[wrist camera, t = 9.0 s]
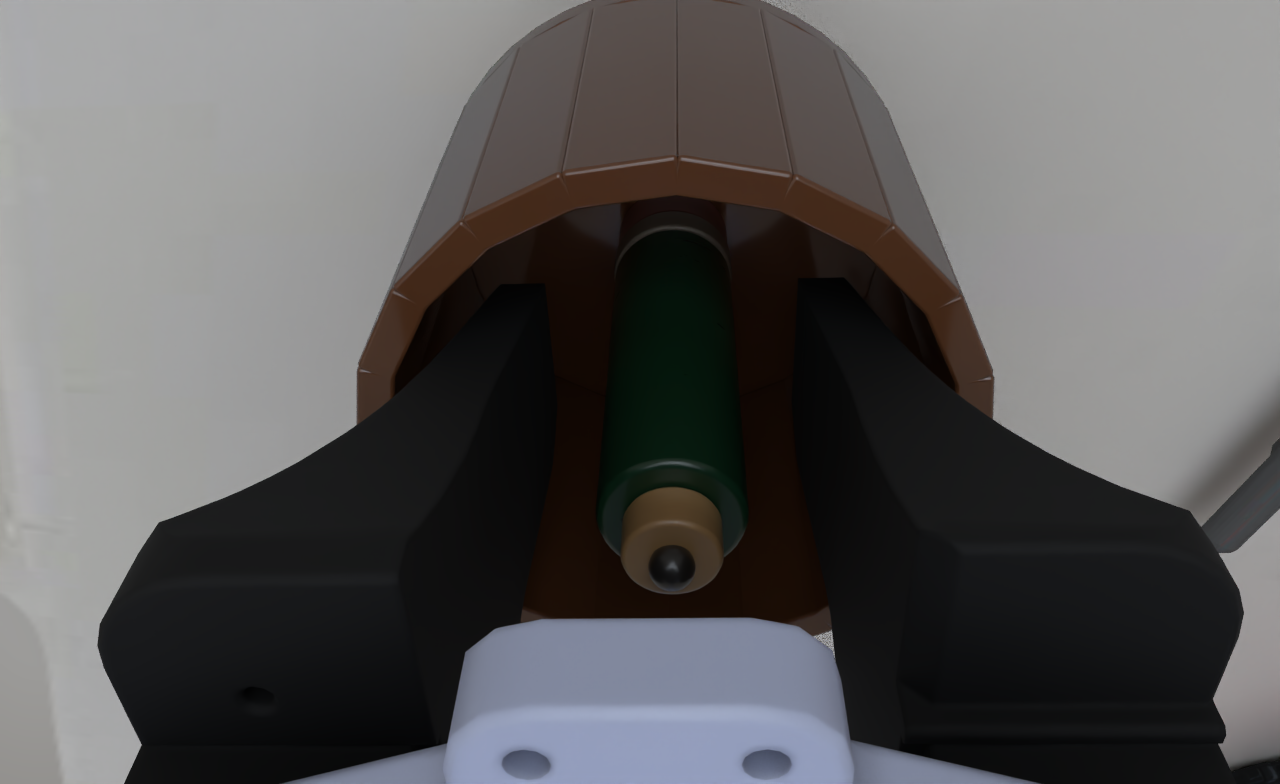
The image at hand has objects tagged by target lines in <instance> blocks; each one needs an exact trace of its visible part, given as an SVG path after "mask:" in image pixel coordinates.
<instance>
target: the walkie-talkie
mask: <svg viewBox="0 0 1280 784" xmlns="http://www.w3.org/2000/svg"><path fill="white" fill-rule="evenodd" d="M1278 509H1280V438H1279V439H1278V440H1277V441H1276V442H1275V443H1274V444H1273V446H1272V450H1271V455H1270V457H1269V458H1268V459H1267V460H1266V461H1265V462H1264V463H1263V464H1262V465H1261V466H1260V467H1259V468H1258V469H1257V470H1256V471H1255V472H1254V473H1253V474H1252V475H1251V476H1250V477H1249V478H1248V479H1247V480H1246V481H1245V482H1244V483H1243V484H1242V485H1241V487H1240V488H1239V489H1238V490H1237V491H1236V492H1235V493H1234V494H1233V495H1232V496H1231V497H1230V498H1229V499H1228V500H1227V501H1226V502H1225V503H1224V504H1223V505H1222V506H1221V507H1220V508H1219V509H1218V510H1217V511H1216V512H1215V513H1214V514H1213V515H1212V516H1211V517H1210V519H1209V520H1208V521H1207V522H1206V523H1205V524H1204V525H1203V526H1202V527H1201V528H1202V529H1203V531H1204V532H1205V534H1206V535H1207V536H1208V538H1209V539H1210V541H1211V542H1212V544H1213V545H1214V547H1215V549H1216V550H1217V552H1218V553H1231V552H1233V551H1236V550H1237V549H1239V548H1240V547H1241V546H1242V545H1243V544H1244V543H1245V542H1246V541H1247V540H1248V539H1249V538H1250V537H1251V536H1252V535H1253V534H1254V533H1255V532H1256V531H1257V530H1258V529H1259V528H1260V527H1261V526H1262V525H1263V524H1264V523H1265V522H1266V521H1267V520H1268V519H1269V518H1270V517H1271V516H1272V515H1273V514H1274V513H1275V512H1276V511H1277V510H1278Z"/></svg>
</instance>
